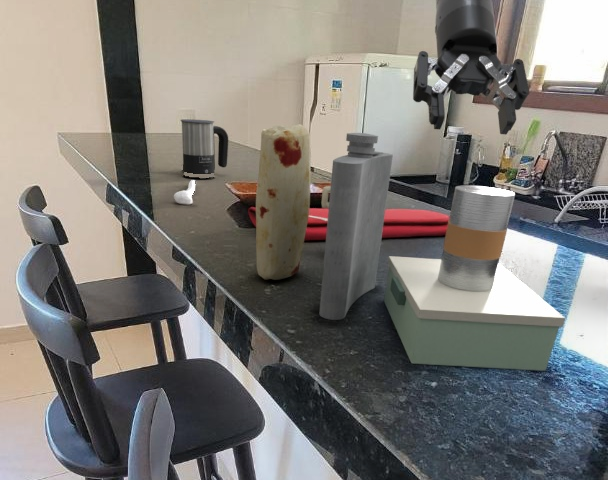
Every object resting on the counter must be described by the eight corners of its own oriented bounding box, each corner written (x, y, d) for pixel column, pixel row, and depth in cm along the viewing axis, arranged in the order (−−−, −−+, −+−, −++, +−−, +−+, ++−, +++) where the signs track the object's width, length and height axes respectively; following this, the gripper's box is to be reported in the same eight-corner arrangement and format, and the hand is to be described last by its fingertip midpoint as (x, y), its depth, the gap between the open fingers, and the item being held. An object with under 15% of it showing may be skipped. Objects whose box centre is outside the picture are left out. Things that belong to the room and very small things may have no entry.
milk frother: (199, 180, 145) (198, 121, 138) (158, 172, 152) (155, 116, 146) (232, 176, 156) (233, 121, 149) (193, 169, 163) (192, 116, 156)
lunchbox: (493, 307, 71) (504, 263, 68) (554, 372, 54) (571, 318, 51) (377, 300, 70) (383, 255, 67) (403, 364, 53) (413, 308, 51)
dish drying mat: (465, 236, 107) (469, 218, 105) (274, 244, 91) (275, 222, 89) (420, 219, 120) (423, 202, 118) (246, 223, 104) (247, 203, 102)
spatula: (181, 183, 139) (181, 172, 138) (197, 184, 140) (197, 173, 138) (173, 204, 114) (172, 191, 113) (192, 205, 115) (192, 192, 114)
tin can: (482, 275, 62) (503, 187, 58) (501, 293, 57) (525, 197, 52) (431, 272, 62) (448, 183, 57) (445, 290, 56) (464, 193, 52)
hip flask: (340, 321, 62) (360, 138, 53) (308, 314, 63) (322, 134, 54) (377, 284, 75) (398, 132, 66) (350, 279, 77) (367, 129, 68)
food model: (286, 289, 71) (296, 126, 62) (242, 280, 73) (245, 121, 64) (312, 270, 79) (324, 125, 70) (271, 263, 81) (278, 120, 72)
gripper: (420, -2, 67) (425, 99, 62) (529, 7, 68) (543, 108, 63) (405, 49, 74) (409, 144, 69) (504, 57, 75) (515, 151, 70)
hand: (473, 127), depth 66 cm, fingers open, 8 cm apart
